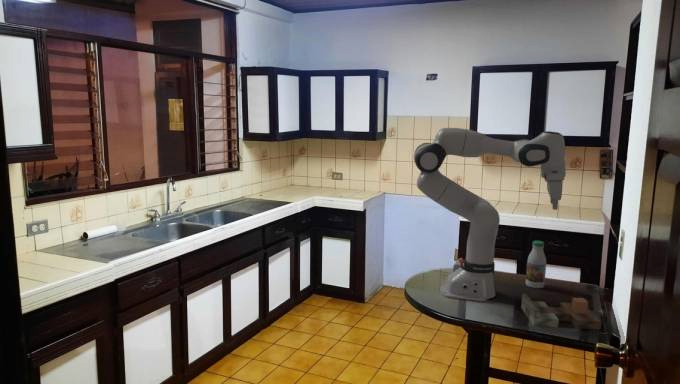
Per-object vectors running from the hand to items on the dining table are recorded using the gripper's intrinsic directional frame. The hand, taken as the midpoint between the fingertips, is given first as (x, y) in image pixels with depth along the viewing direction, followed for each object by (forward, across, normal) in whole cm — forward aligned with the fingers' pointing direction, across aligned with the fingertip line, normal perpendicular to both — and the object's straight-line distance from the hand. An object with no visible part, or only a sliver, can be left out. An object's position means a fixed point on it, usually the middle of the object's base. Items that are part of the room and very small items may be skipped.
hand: (554, 206), depth 193 cm
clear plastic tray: (+37, +22, -1) cm, 44 cm away
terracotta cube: (+35, +20, +6) cm, 41 cm away
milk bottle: (+39, -11, -8) cm, 41 cm away
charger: (+36, -22, -38) cm, 57 cm away
